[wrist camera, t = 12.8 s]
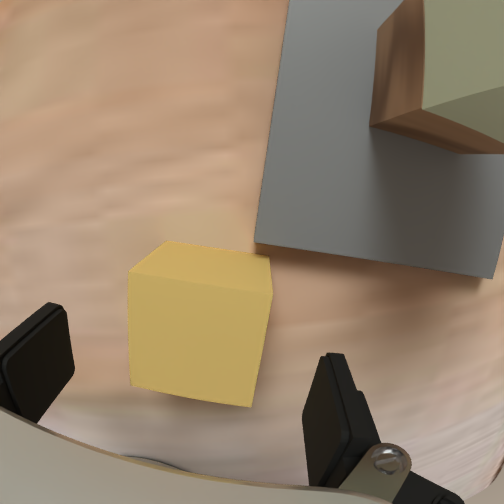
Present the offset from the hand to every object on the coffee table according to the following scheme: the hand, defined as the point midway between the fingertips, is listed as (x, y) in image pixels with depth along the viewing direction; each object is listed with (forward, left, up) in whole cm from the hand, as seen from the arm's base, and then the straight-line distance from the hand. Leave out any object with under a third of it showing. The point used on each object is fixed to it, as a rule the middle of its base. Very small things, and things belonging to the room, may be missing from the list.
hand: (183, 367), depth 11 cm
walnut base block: (+13, -10, -7) cm, 18 cm away
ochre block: (-1, 0, -9) cm, 9 cm away
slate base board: (+13, -10, -9) cm, 19 cm away
